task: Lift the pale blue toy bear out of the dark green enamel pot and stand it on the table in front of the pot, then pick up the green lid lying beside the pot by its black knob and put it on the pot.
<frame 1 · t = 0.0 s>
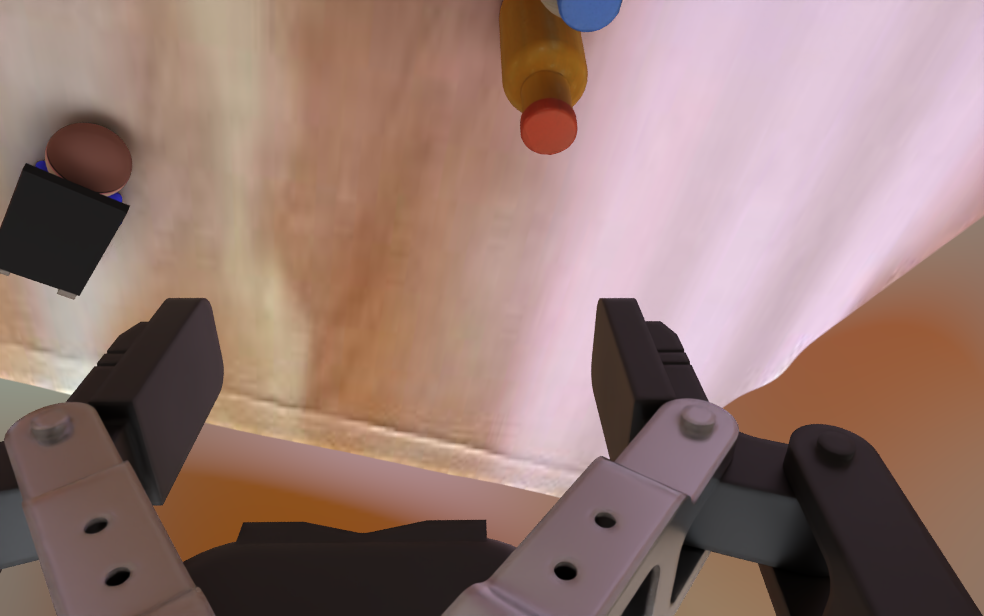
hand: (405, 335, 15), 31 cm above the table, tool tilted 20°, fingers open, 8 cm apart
figurine character: (82, 182, 52), on the table
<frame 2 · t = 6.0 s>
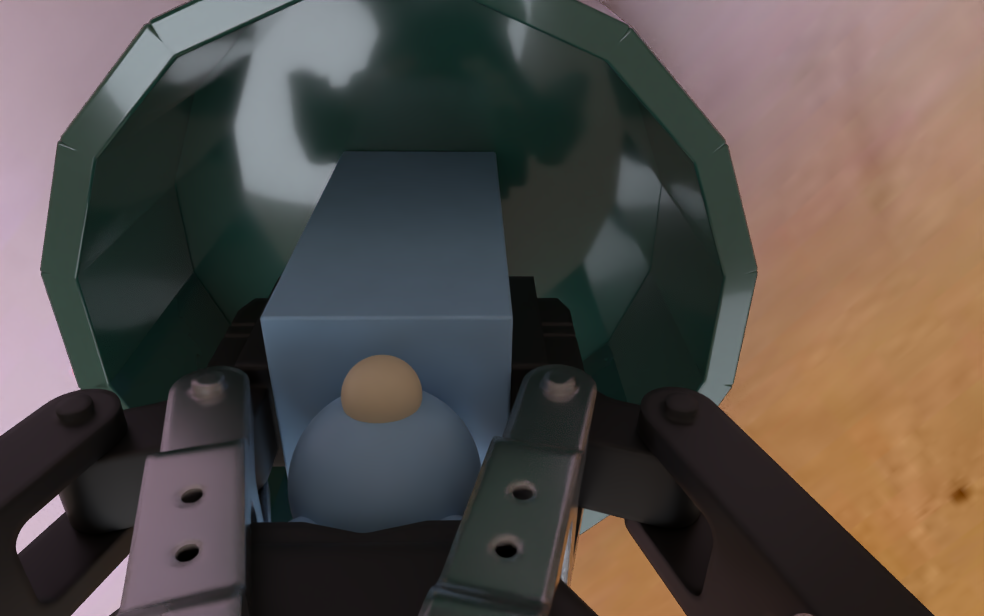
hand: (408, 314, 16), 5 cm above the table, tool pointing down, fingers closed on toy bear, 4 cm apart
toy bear: (422, 228, 20), point 1 cm above the table, touching gripper, pot
pot: (423, 221, 20), on the table
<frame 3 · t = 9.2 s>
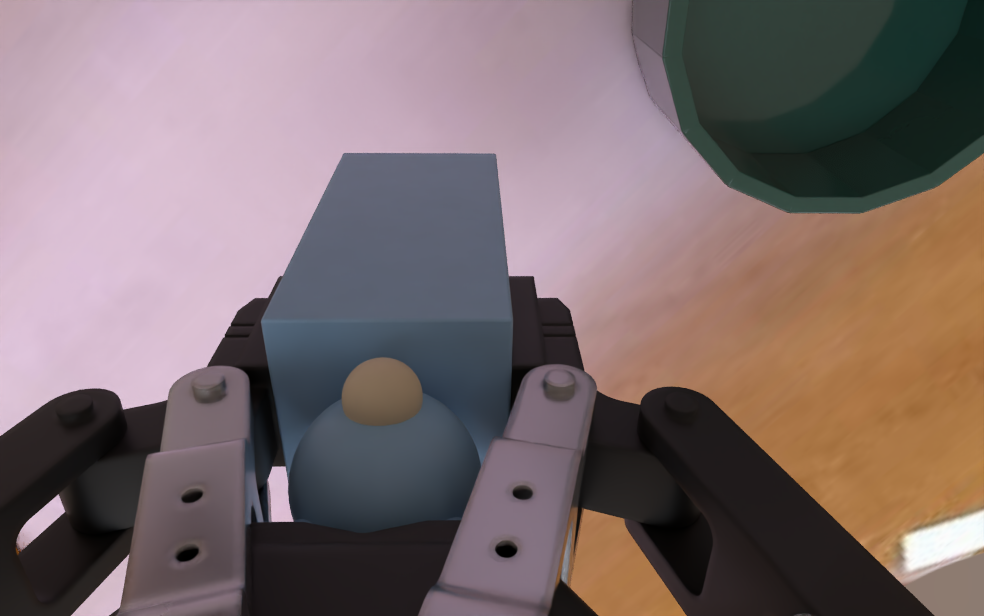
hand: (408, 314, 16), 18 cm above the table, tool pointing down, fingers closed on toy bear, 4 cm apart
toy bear: (422, 230, 20), point 13 cm above the table, touching gripper
when the fingers open (5 cm above the table, at t = 12.6 s): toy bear stays where it is, on the table.
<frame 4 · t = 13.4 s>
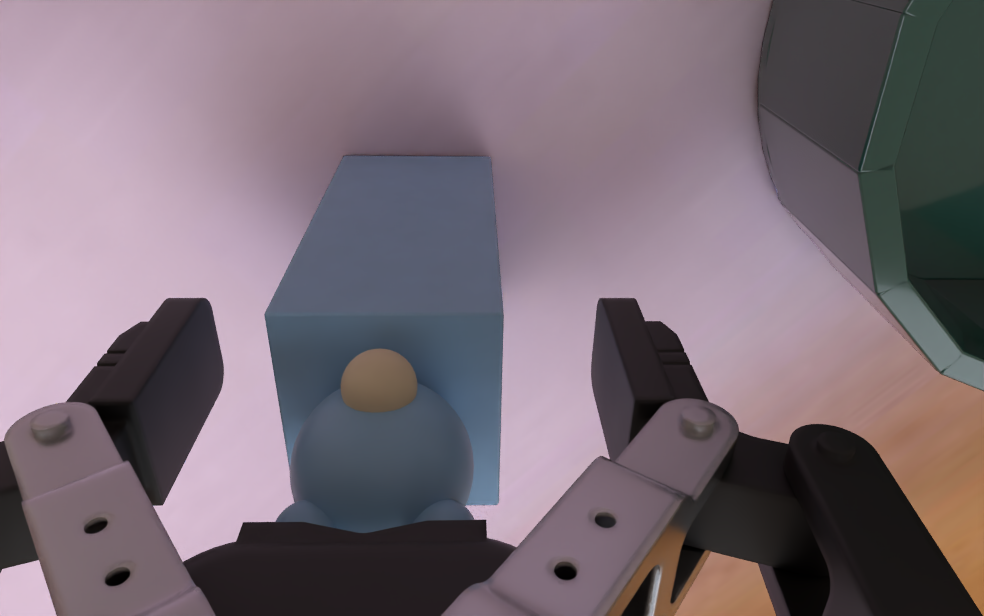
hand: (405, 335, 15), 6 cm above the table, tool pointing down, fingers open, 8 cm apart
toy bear: (420, 230, 21), on the table
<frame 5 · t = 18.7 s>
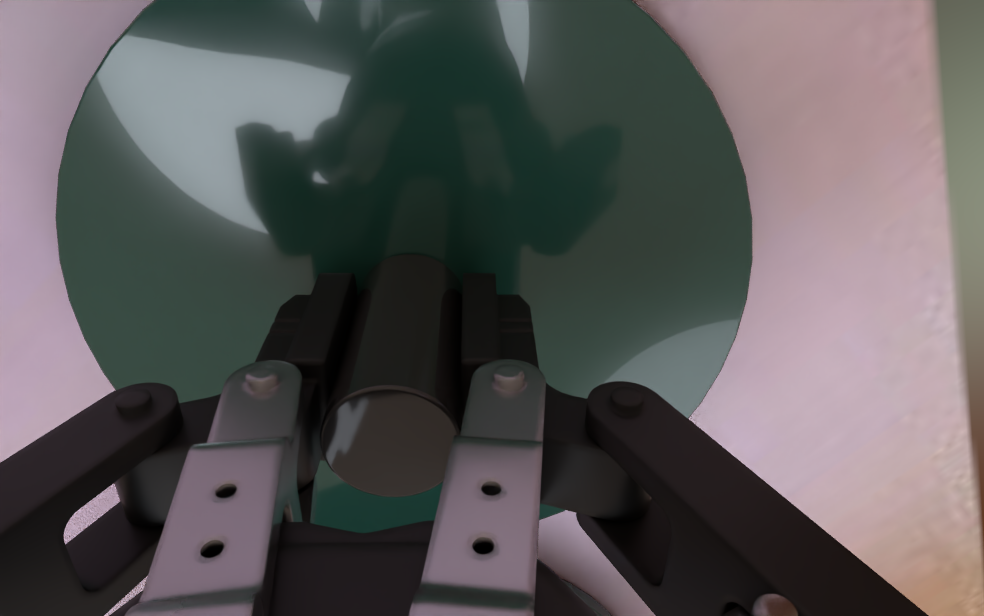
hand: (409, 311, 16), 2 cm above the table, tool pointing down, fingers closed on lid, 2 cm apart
lid: (414, 290, 17), point 1 cm above the table, touching gripper
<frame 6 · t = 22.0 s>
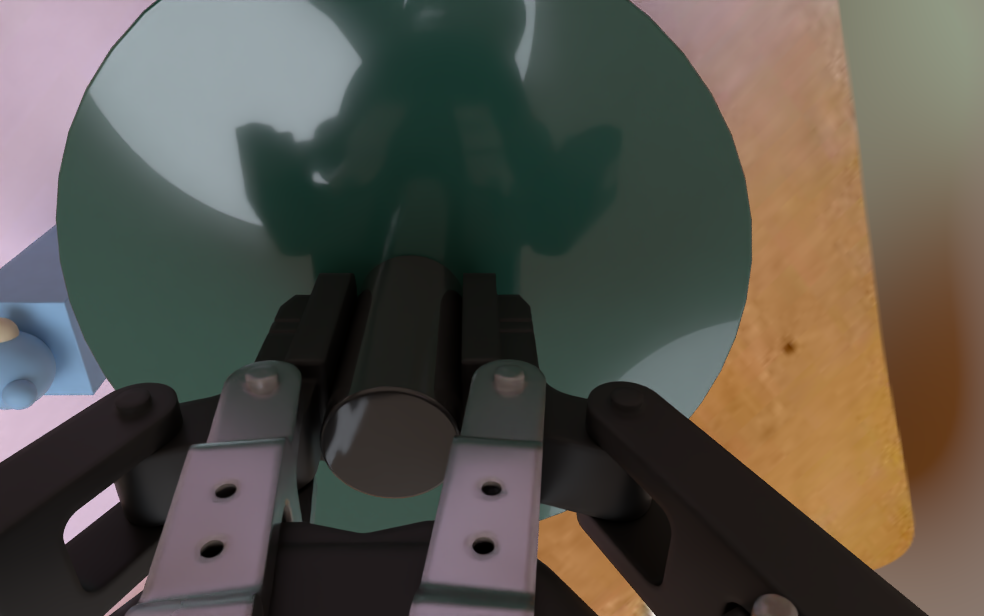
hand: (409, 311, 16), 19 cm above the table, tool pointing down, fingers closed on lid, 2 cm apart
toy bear: (119, 256, 36), on the table
lid: (413, 291, 17), point 18 cm above the table, touching gripper
when the fingers open (7 cm above the table, at t = 25.2 s): lid stays where it is, resting on pot.
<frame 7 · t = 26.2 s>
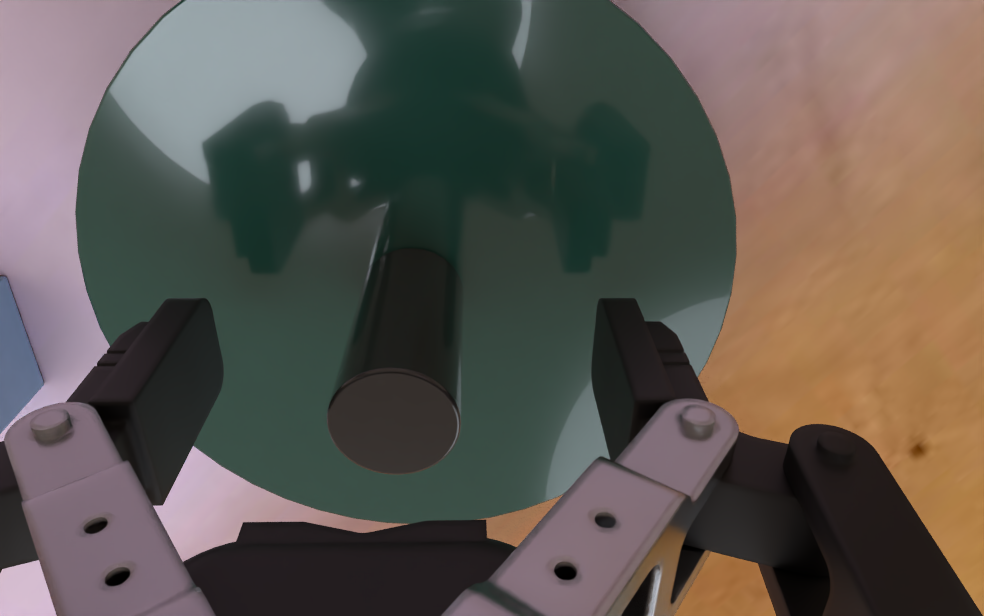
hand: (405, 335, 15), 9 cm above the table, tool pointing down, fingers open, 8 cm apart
lid: (414, 282, 18), point 6 cm above the table, touching pot
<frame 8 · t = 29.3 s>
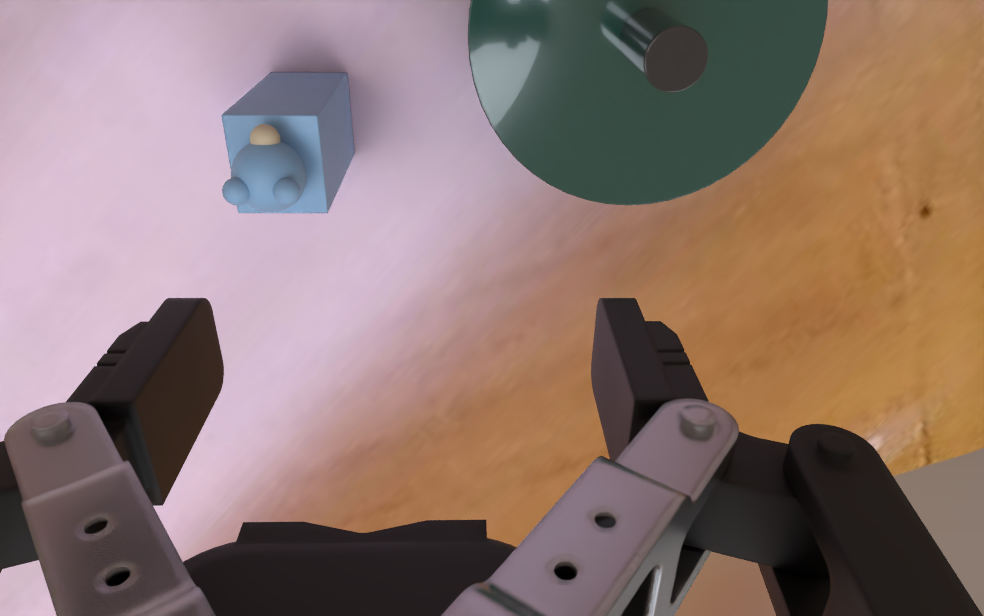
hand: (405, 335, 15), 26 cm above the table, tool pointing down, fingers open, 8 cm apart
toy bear: (313, 114, 39), on the table
lid: (644, 35, 31), point 6 cm above the table, touching pot
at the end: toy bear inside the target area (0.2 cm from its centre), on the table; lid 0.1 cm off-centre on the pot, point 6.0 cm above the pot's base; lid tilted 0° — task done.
